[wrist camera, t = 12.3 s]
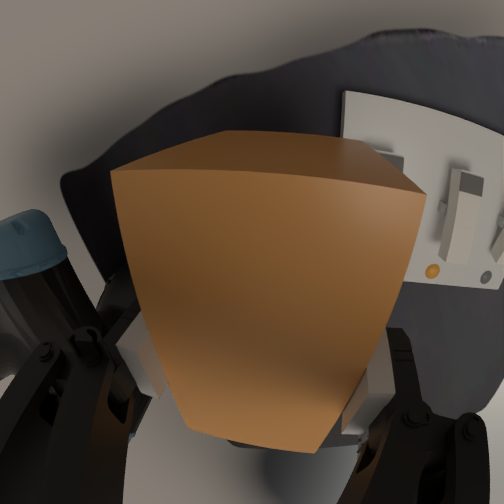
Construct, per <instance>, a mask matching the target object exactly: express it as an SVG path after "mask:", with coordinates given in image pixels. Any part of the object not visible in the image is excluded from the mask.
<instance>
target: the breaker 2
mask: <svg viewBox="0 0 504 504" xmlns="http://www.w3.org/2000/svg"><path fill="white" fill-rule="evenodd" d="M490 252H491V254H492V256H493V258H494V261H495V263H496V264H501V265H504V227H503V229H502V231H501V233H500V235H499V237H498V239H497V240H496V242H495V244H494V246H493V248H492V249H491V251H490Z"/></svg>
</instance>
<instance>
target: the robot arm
mask: <svg viewBox="0 0 504 504" xmlns="http://www.w3.org/2000/svg"><path fill="white" fill-rule="evenodd" d="M12 374H13V375H15V377H14V379H13V380H12V382H11V383H10V385H9V386H8V388H7V389H6V391H5V392H4V394H3V396H2V397H1V399H0V504H123V489H124V476H125V467H126V457H127V448H128V443H129V442H130V440H131V438H132V437H134V436H135V434H136V431H137V428H138V426H139V424H140V422H141V420H142V418H143V416H144V414H145V412H146V410H147V408H148V406H149V404H150V402H151V399H152V397H154V398H157V399H160V397H161V395H162V393H163V391H164V389H165V387H166V385H167V384H168V382H169V381H168V379H167V377H166V374H165V372H164V369H163V367H162V364H161V362H160V359H159V356H158V354H157V351H156V348H155V346H154V343H153V340H152V337H151V335H150V332H149V331H148V329H147V326H146V323H145V320H144V317H143V314H142V311H141V308H140V304H139V301H138V298H137V294H136V291H135V287H134V284H133V280H132V277H131V273H130V269H129V265H128V262H125V263H123V264H122V265H120V266H119V267H118V268H117V269H116V270H115V271H114V272H113V273H112V274H111V275H110V277H109V278H108V280H107V282H106V285H105V289H104V291H103V293H102V295H101V297H100V299H99V302H98V305H97V307H96V309H95V307H94V306H93V304H92V302H91V301H90V299H89V297H88V295H87V294H86V292H85V290H84V288H83V286H82V284H81V283H80V281H79V279H78V277H77V275H76V273H75V271H74V269H73V267H72V265H71V263H70V261H69V259H68V257H67V249H66V247H65V246H64V245H63V244H61V241H60V239H59V238H58V235H57V233H56V231H55V229H54V227H53V225H52V223H51V221H50V219H49V217H48V216H47V215H46V214H45V213H44V212H42V211H40V210H36V209H31V210H27V211H24V212H21V213H18V214H16V215H13V216H11V217H8V218H6V219H4V220H2V221H0V380H2V379H4V378H5V377H7V376H9V375H12ZM368 428H369V439H368V440H367V441H366V442H365V443H364V444H363V445H362V446H361V447H360V448H359V450H358V451H357V453H360V452H361V453H360V456H359V458H358V461H357V463H356V465H355V467H354V470H353V472H352V474H351V476H350V479H349V480H348V483H347V485H346V487H345V489H344V491H343V493H342V495H341V497H340V498H339V500H338V502H337V504H489V500H490V465H489V450H488V440H487V431H486V427H485V423H484V421H483V420H482V418H481V417H480V416H479V415H477V414H475V413H470V412H468V413H465V414H463V415H461V416H460V417H459V418H458V419H457V420H455V419H451V418H447V417H443V416H439V415H436V414H434V413H433V412H432V410H431V408H430V407H429V406H428V405H427V404H426V403H425V402H424V401H423V400H422V397H421V391H420V386H419V380H418V375H417V370H416V365H415V362H414V356H413V353H412V347H411V343H410V339H409V337H408V336H407V335H406V333H405V332H404V330H403V329H402V328H387V327H385V329H384V331H383V333H382V336H381V338H380V340H379V342H378V344H377V347H376V349H375V351H374V353H373V355H372V357H371V359H370V361H369V363H368V365H367V367H366V369H365V371H364V373H363V375H362V377H361V379H360V381H359V383H358V384H357V386H356V388H355V390H354V392H353V394H352V395H351V397H350V399H349V401H348V402H347V404H346V406H345V407H344V409H343V413H342V431H341V434H364V433H365V432H366V430H367V429H368Z"/></svg>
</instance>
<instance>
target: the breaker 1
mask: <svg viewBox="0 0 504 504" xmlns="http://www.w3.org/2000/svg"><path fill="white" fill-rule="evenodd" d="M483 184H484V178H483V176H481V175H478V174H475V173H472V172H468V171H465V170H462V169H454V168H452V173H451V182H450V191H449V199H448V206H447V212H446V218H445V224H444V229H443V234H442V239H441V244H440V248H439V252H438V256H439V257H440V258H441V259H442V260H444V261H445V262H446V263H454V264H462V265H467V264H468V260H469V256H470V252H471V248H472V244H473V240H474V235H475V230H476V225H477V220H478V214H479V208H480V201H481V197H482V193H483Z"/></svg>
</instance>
